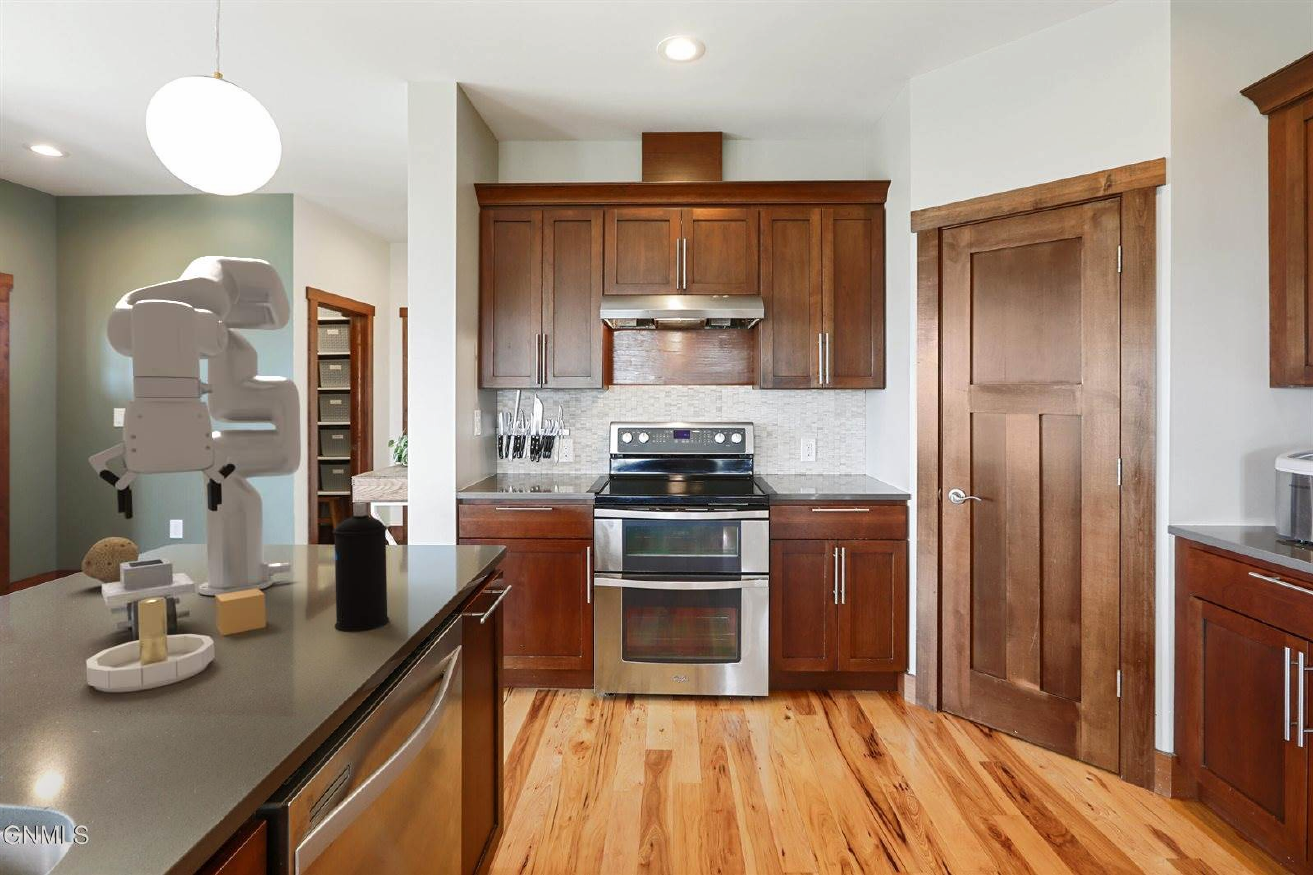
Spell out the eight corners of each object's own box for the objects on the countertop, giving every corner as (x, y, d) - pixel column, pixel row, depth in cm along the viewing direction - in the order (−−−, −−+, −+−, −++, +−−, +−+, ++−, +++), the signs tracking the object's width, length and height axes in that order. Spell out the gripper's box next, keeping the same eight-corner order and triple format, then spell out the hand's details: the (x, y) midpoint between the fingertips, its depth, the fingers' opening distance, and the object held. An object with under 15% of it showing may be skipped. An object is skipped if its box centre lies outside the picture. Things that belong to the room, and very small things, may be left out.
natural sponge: (77, 594, 129) (75, 543, 129) (89, 584, 137) (87, 535, 137) (136, 587, 134) (134, 538, 134) (144, 578, 142) (142, 531, 141)
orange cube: (258, 620, 113) (257, 588, 112) (265, 627, 109) (264, 594, 109) (216, 628, 109) (215, 595, 108) (222, 636, 105) (221, 601, 105)
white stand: (183, 613, 117) (182, 553, 116) (200, 635, 105) (198, 569, 105) (102, 627, 109) (100, 563, 109) (110, 652, 97) (108, 581, 97)
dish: (203, 648, 99) (202, 628, 99) (222, 673, 89) (221, 651, 89) (84, 672, 90) (83, 650, 90) (91, 703, 80) (90, 679, 80)
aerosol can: (399, 619, 113) (397, 501, 112) (363, 634, 105) (361, 508, 104) (361, 614, 115) (358, 499, 115) (323, 629, 108) (320, 505, 107)
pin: (166, 660, 92) (164, 596, 92) (169, 666, 90) (167, 600, 89) (139, 666, 90) (136, 600, 89) (141, 672, 88) (139, 605, 87)
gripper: (234, 392, 101) (238, 505, 102) (84, 391, 90) (89, 517, 90) (245, 392, 96) (249, 510, 96) (87, 390, 84) (92, 524, 85)
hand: (172, 513), depth 93 cm, fingers open, 9 cm apart
